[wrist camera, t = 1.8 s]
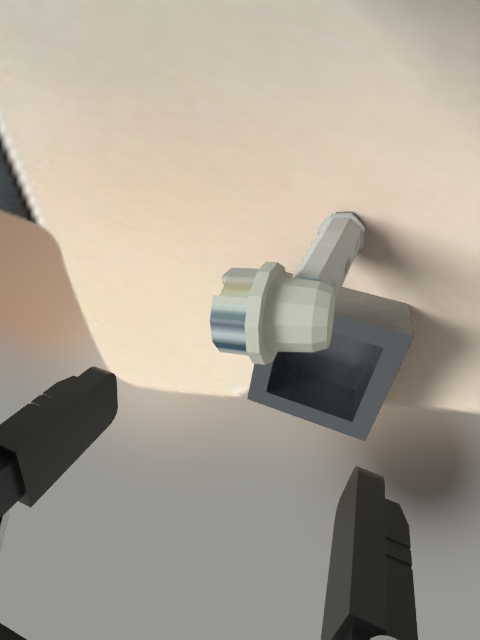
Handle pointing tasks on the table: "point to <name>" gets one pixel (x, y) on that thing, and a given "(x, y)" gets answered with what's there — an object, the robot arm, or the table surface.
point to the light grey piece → (287, 297)
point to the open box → (341, 366)
